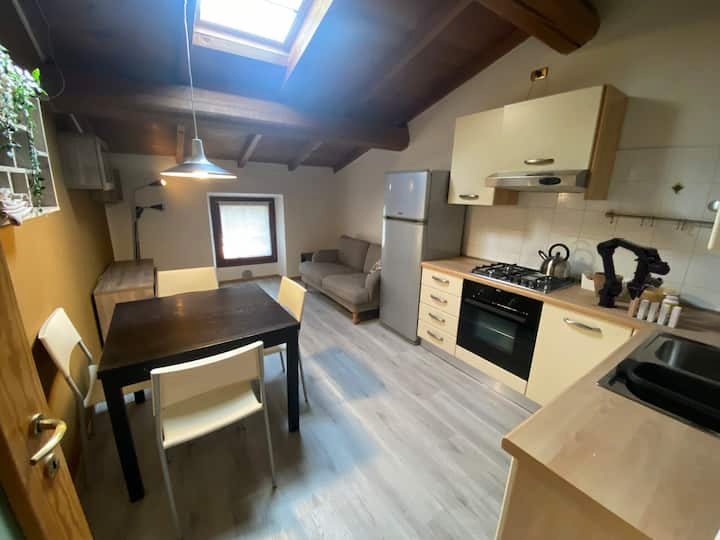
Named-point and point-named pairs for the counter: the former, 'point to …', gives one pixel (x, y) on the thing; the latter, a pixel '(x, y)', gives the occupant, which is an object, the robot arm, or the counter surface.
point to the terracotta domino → (633, 307)
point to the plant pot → (602, 281)
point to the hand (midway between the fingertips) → (635, 298)
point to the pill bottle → (670, 303)
